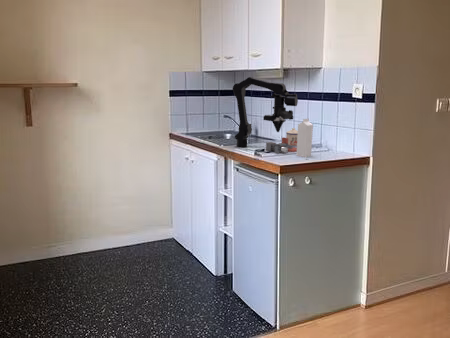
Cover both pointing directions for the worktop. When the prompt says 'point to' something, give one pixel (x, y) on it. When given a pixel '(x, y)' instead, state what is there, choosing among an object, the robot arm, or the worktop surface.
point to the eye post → (277, 147)
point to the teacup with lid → (292, 137)
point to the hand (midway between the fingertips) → (277, 132)
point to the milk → (304, 138)
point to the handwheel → (290, 148)
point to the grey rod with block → (271, 147)
